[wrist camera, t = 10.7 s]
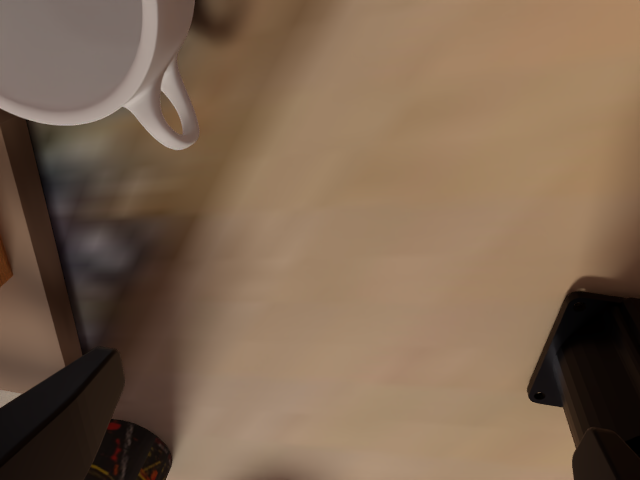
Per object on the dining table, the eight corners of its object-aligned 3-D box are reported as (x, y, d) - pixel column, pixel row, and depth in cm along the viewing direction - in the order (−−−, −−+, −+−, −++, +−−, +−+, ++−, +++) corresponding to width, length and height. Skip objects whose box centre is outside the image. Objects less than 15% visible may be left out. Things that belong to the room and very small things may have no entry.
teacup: (-41, -80, 18) (-196, -79, 13) (110, -250, 15) (-21, -324, 10) (150, 158, 22) (82, 223, 17) (302, 61, 19) (268, 108, 14)
